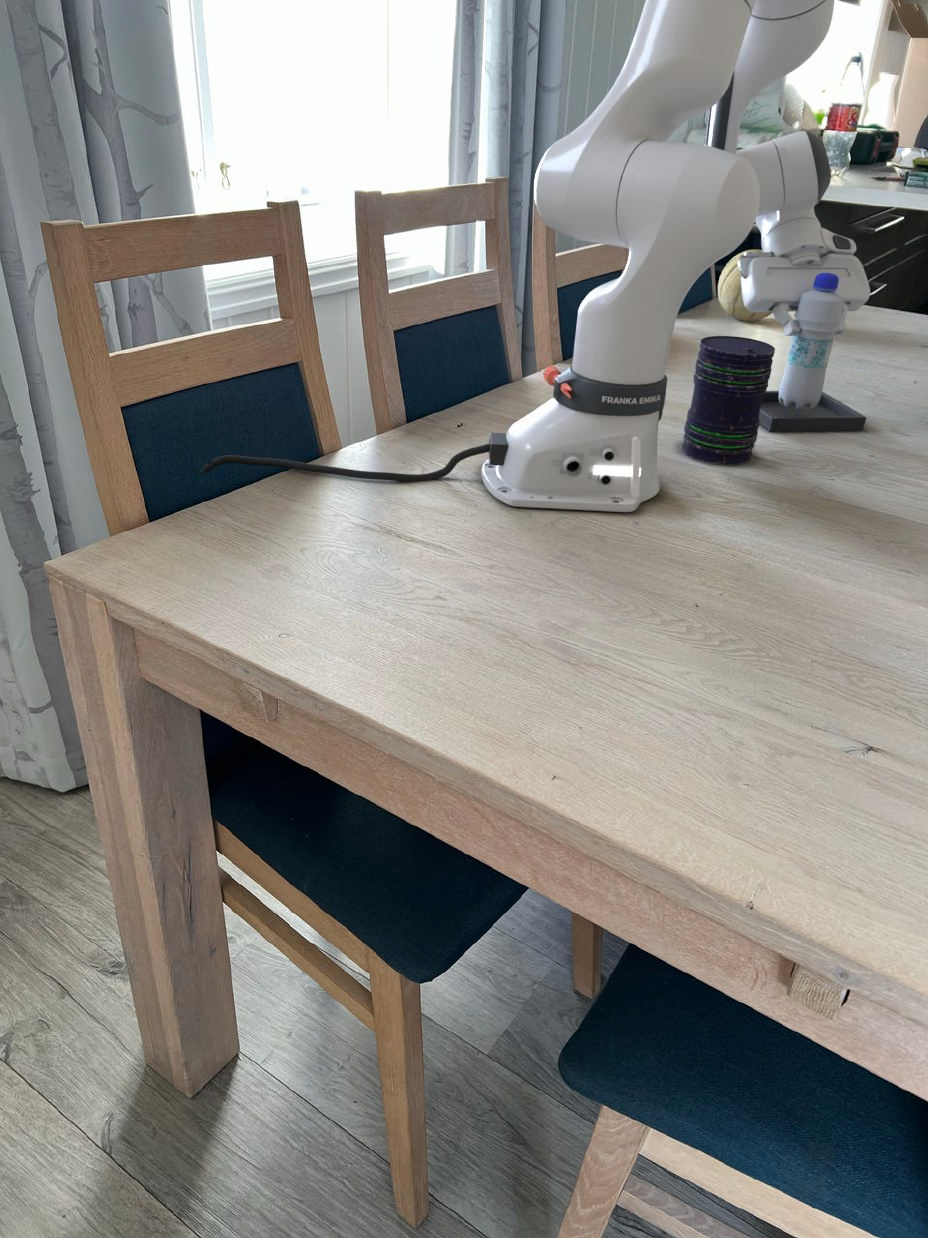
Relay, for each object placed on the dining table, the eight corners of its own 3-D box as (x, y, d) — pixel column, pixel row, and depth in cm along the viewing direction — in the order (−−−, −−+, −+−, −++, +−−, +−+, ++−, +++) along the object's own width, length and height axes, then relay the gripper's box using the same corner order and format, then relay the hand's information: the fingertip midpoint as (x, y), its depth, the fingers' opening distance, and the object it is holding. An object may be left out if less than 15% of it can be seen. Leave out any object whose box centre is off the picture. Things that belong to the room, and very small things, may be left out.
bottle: (821, 415, 144) (855, 278, 134) (776, 410, 145) (807, 274, 135) (816, 402, 150) (848, 270, 139) (773, 398, 151) (802, 266, 140)
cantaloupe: (738, 309, 217) (751, 240, 209) (792, 323, 207) (809, 251, 200) (697, 316, 209) (710, 244, 201) (753, 330, 199) (768, 255, 192)
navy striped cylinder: (667, 443, 134) (685, 336, 126) (725, 438, 137) (746, 334, 130) (706, 468, 126) (728, 356, 118) (767, 462, 129) (791, 353, 122)
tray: (769, 431, 141) (772, 418, 140) (730, 403, 152) (733, 390, 151) (863, 430, 144) (866, 417, 143) (818, 403, 155) (821, 390, 154)
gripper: (746, 239, 138) (767, 322, 135) (864, 240, 144) (887, 321, 141) (725, 265, 144) (745, 345, 141) (839, 265, 150) (860, 343, 147)
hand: (816, 333), depth 141 cm, fingers closed on bottle, 6 cm apart
